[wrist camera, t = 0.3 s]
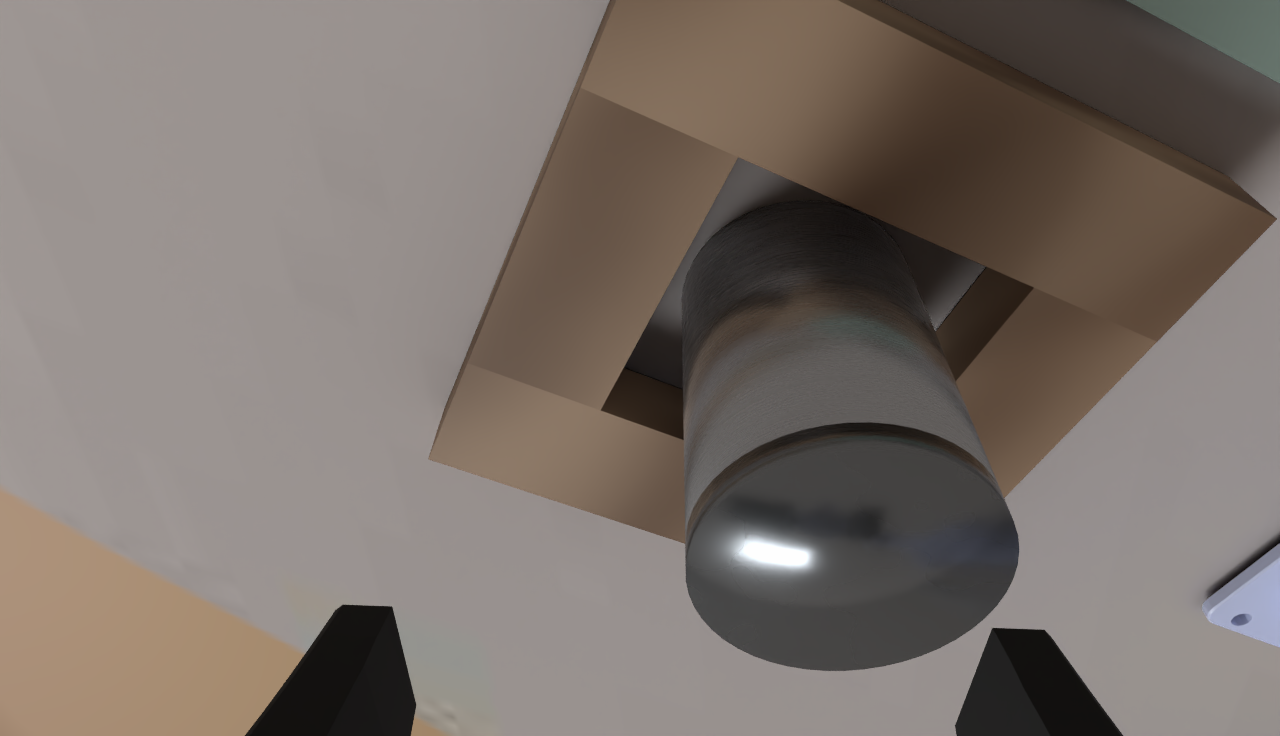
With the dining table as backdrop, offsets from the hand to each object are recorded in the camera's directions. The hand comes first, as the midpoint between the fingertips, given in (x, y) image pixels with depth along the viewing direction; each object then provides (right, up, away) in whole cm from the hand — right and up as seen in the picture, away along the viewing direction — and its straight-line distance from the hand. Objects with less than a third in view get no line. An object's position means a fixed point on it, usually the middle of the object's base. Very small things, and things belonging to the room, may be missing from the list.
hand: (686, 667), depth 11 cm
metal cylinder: (+3, +5, +9) cm, 11 cm away
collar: (+3, +5, +9) cm, 10 cm away
